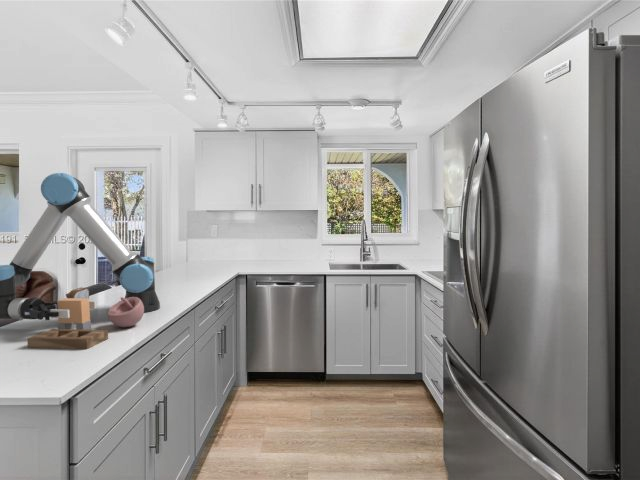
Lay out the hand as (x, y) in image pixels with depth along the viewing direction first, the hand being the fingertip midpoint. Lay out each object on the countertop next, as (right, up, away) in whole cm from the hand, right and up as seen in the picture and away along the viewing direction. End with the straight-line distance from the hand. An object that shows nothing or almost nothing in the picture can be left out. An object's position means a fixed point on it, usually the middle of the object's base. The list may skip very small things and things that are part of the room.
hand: (82, 309), depth 137 cm
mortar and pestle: (+13, -8, +5) cm, 16 cm away
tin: (-26, -6, +40) cm, 49 cm away
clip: (-3, -8, +1) cm, 9 cm away
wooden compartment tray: (+3, -9, -13) cm, 16 cm away
